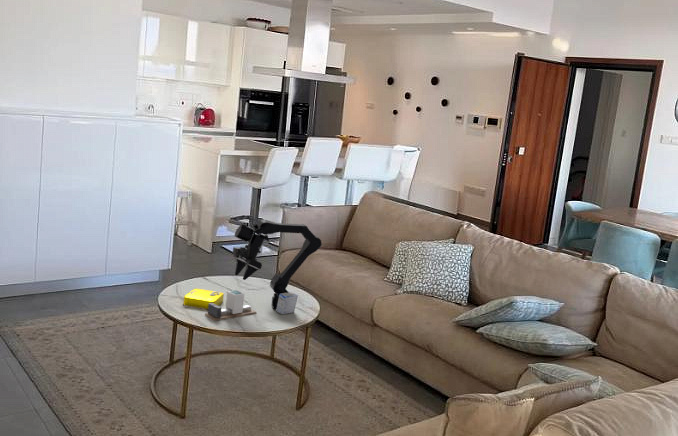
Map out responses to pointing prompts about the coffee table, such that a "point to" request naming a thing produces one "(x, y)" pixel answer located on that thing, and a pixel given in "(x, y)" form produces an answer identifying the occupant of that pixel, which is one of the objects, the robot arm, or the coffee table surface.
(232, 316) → the mounting board
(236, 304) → the block
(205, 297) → the element tile
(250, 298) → the coffee table surface
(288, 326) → the coffee table surface
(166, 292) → the coffee table surface
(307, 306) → the coffee table surface
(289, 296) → the medicine box
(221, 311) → the rail
